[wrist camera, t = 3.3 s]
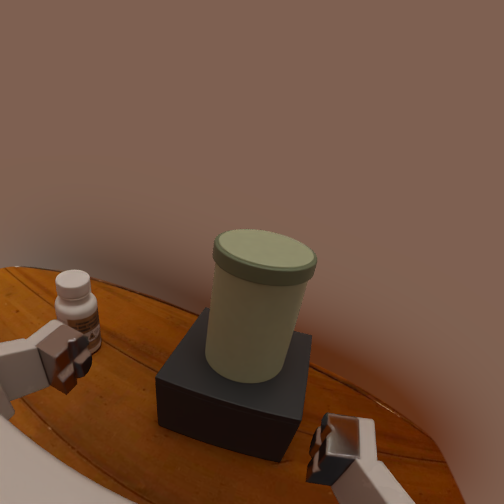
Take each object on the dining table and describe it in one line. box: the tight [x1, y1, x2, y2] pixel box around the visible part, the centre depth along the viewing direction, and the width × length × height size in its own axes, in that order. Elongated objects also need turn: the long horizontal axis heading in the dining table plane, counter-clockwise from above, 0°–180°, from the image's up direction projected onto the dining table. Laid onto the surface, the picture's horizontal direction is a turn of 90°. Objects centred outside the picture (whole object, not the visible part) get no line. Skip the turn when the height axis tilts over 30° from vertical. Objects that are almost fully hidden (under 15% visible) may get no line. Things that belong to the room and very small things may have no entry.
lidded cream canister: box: [205, 229, 317, 383], centre depth 21 cm, size 6×6×9 cm
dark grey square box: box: [155, 308, 312, 462], centre depth 24 cm, size 10×10×6 cm
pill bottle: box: [55, 270, 101, 353], centre depth 26 cm, size 4×4×8 cm
